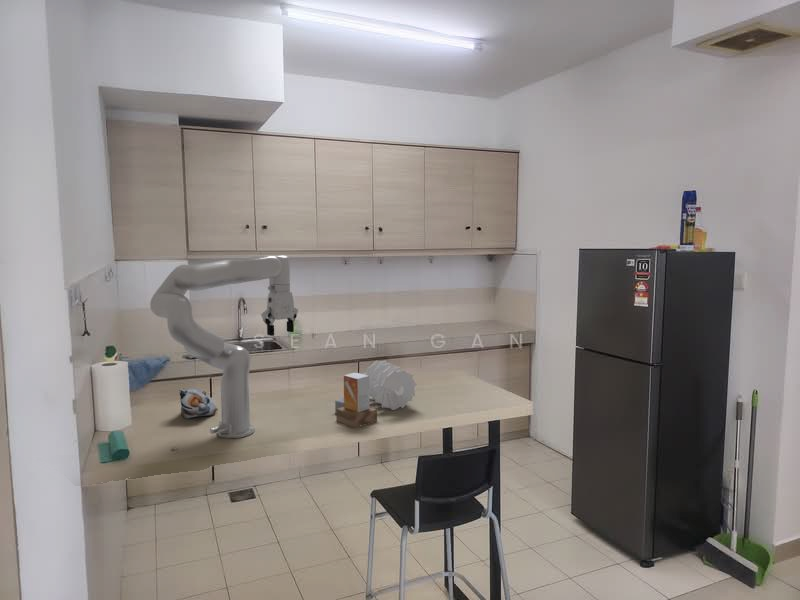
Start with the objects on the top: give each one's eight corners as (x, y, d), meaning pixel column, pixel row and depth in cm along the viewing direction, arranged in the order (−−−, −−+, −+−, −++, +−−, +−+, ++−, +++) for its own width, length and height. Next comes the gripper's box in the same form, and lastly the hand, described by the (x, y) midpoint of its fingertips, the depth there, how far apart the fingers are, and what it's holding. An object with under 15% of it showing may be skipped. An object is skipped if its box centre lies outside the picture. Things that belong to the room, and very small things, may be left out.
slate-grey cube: (344, 415, 214) (344, 403, 213) (335, 413, 217) (335, 400, 216) (353, 412, 218) (353, 400, 217) (343, 409, 221) (343, 397, 220)
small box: (343, 408, 208) (343, 375, 206) (356, 404, 212) (355, 372, 211) (357, 412, 202) (357, 378, 201) (370, 409, 207) (369, 375, 205)
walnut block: (354, 428, 200) (354, 415, 199) (336, 421, 208) (336, 408, 207) (377, 422, 207) (377, 409, 206) (359, 415, 215) (359, 402, 215)
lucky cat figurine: (224, 412, 216) (219, 387, 208) (200, 431, 208) (193, 406, 200) (198, 396, 222) (192, 371, 214) (174, 415, 214) (166, 389, 206)
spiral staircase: (384, 404, 241) (409, 418, 219) (350, 391, 234) (373, 404, 211) (399, 365, 244) (426, 375, 221) (366, 352, 236) (390, 361, 214)
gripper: (268, 290, 194) (269, 338, 196) (303, 287, 208) (304, 331, 210) (254, 289, 199) (255, 335, 201) (290, 286, 213) (290, 329, 215)
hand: (280, 333), depth 205 cm, fingers open, 9 cm apart
